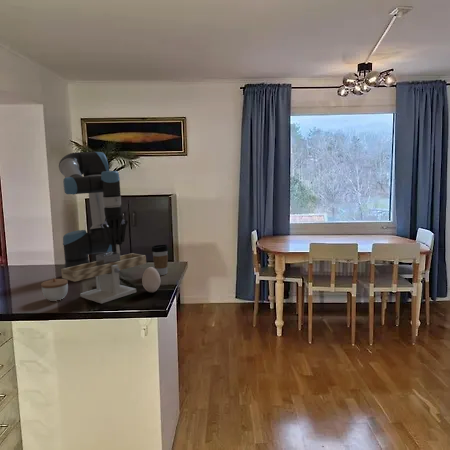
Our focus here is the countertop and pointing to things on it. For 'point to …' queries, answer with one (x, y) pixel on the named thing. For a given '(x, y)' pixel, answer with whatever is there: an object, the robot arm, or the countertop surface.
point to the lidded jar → (55, 289)
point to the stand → (108, 287)
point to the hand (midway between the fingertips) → (117, 258)
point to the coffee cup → (160, 258)
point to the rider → (107, 258)
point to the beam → (101, 267)
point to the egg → (151, 279)
